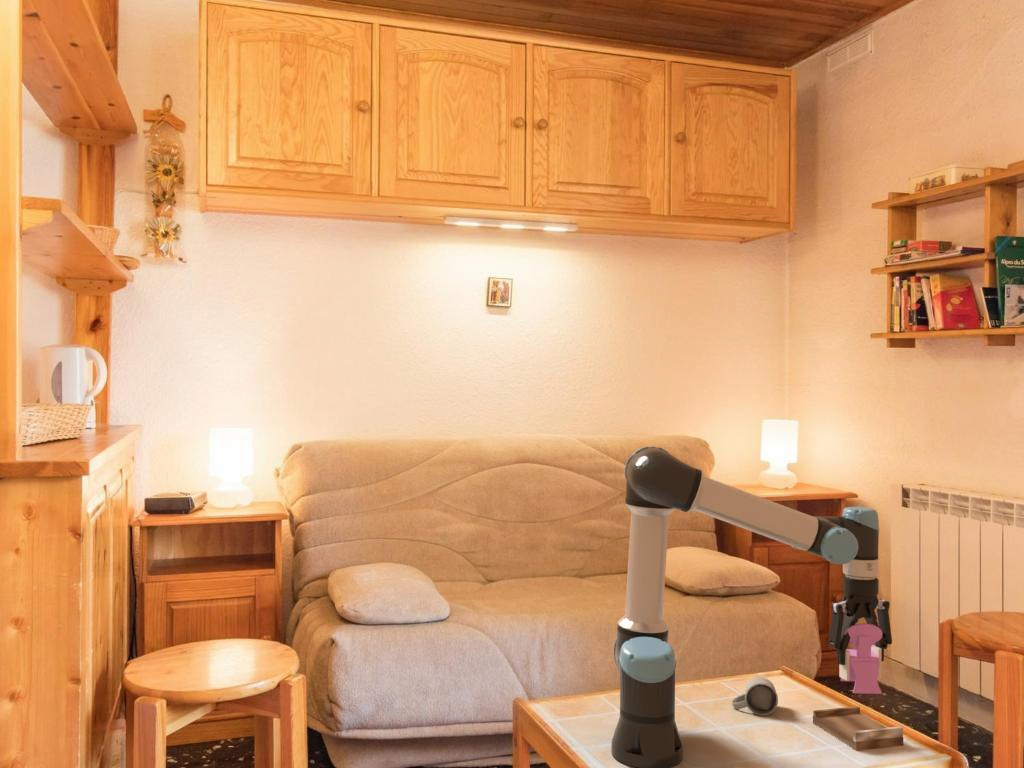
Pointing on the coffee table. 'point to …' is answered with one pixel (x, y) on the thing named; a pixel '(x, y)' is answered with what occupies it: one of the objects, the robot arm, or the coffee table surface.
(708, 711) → the coffee table surface
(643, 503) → the robot arm
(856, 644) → the toy chair
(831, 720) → the shelf board
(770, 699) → the ceramic mug
